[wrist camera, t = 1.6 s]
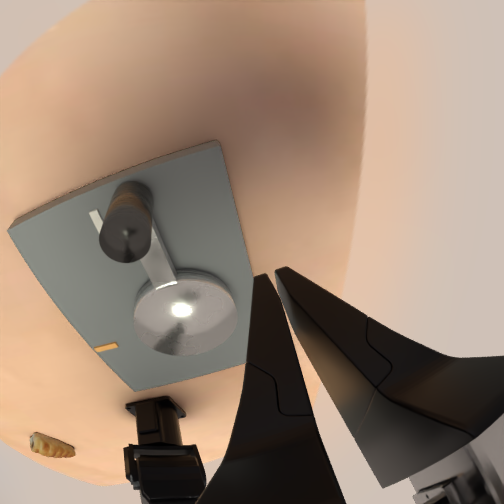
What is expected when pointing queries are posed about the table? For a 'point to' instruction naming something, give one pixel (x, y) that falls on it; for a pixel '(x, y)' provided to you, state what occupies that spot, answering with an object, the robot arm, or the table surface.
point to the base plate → (134, 274)
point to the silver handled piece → (165, 281)
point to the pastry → (50, 446)
